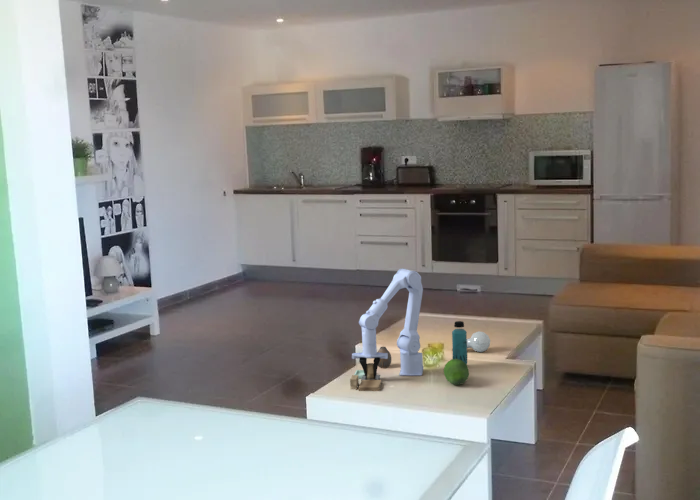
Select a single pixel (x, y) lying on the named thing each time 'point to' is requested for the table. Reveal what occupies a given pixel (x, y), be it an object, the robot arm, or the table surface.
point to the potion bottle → (478, 341)
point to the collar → (371, 379)
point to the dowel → (370, 371)
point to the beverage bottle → (459, 342)
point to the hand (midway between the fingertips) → (370, 375)
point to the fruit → (456, 371)
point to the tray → (359, 373)
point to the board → (370, 385)
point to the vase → (384, 362)
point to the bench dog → (354, 382)
